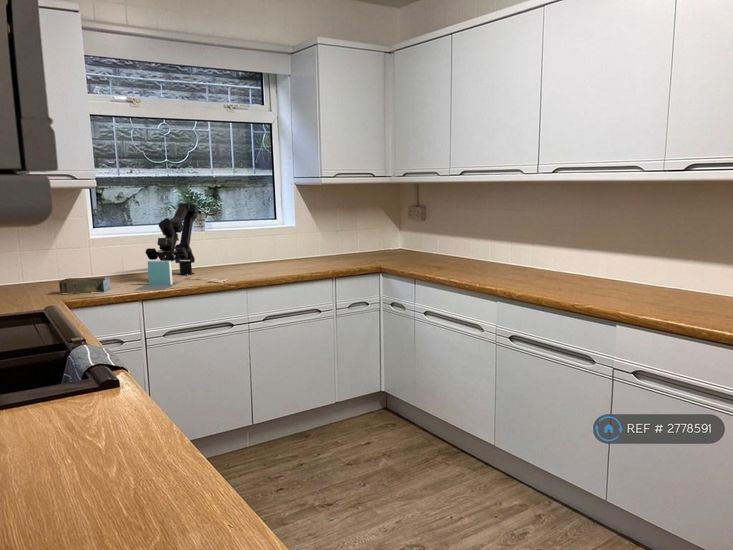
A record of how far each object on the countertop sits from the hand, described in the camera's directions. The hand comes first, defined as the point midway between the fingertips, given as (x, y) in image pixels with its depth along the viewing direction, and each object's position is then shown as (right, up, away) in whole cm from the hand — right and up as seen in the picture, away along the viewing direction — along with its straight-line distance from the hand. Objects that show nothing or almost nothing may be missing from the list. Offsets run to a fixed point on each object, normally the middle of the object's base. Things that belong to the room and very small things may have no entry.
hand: (162, 267), depth 276 cm
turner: (+18, -6, +8) cm, 21 cm away
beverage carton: (-28, -11, -17) cm, 35 cm away
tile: (0, -8, -3) cm, 8 cm away
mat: (0, -9, -6) cm, 11 cm away
